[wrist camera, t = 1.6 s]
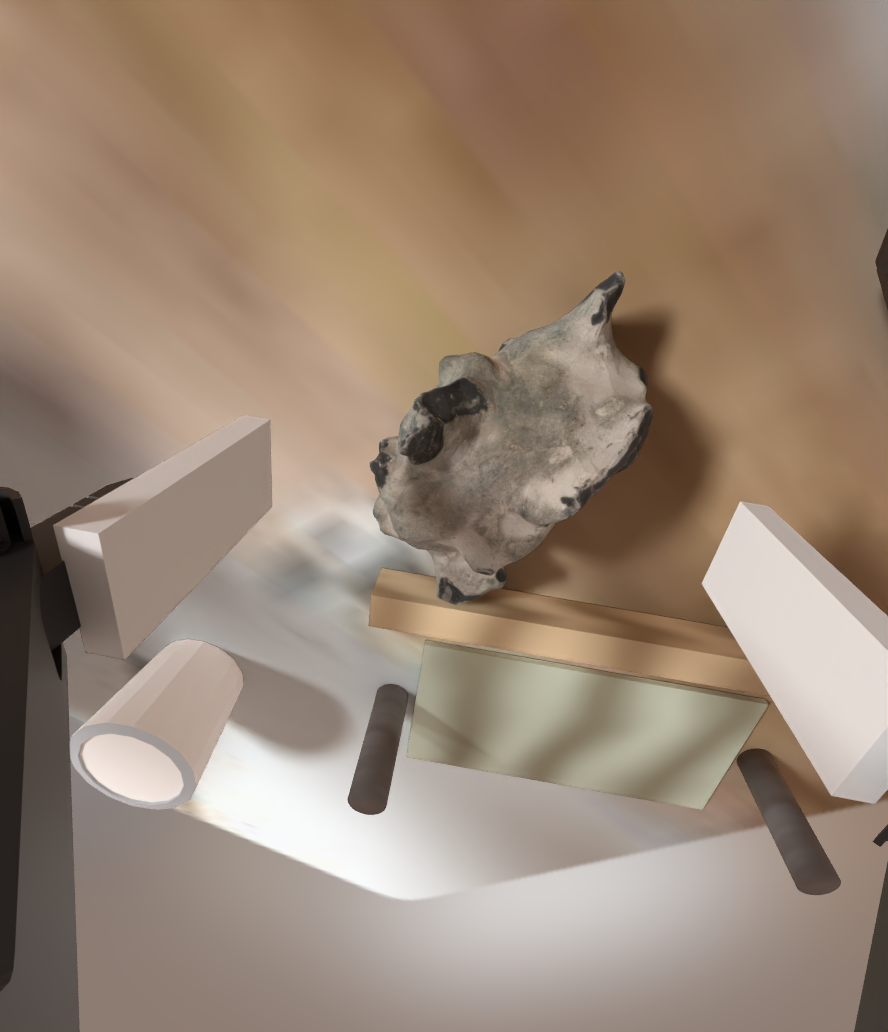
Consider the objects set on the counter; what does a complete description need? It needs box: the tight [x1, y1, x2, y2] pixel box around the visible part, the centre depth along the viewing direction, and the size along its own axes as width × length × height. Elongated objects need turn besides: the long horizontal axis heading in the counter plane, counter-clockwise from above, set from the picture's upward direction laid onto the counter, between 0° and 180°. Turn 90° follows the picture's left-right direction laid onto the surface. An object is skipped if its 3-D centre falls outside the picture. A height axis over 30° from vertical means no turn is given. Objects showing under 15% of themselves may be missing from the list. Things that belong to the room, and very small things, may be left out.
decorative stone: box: [370, 271, 653, 605], centre depth 20 cm, size 16×9×10 cm, turn 157°
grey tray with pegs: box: [348, 568, 841, 895], centre depth 27 cm, size 26×14×7 cm, turn 82°
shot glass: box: [70, 639, 244, 810], centre depth 29 cm, size 7×7×7 cm
